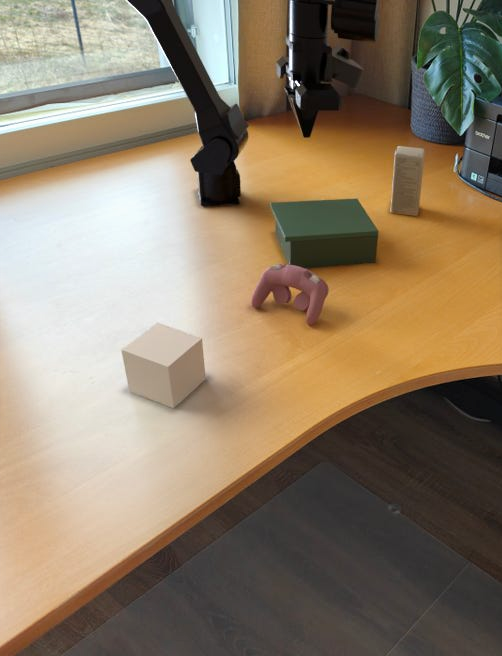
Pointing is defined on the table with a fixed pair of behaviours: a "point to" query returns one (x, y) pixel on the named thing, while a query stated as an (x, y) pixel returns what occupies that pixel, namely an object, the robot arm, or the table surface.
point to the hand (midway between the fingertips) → (306, 136)
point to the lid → (322, 219)
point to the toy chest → (329, 251)
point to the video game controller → (295, 277)
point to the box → (407, 180)
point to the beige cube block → (164, 364)
